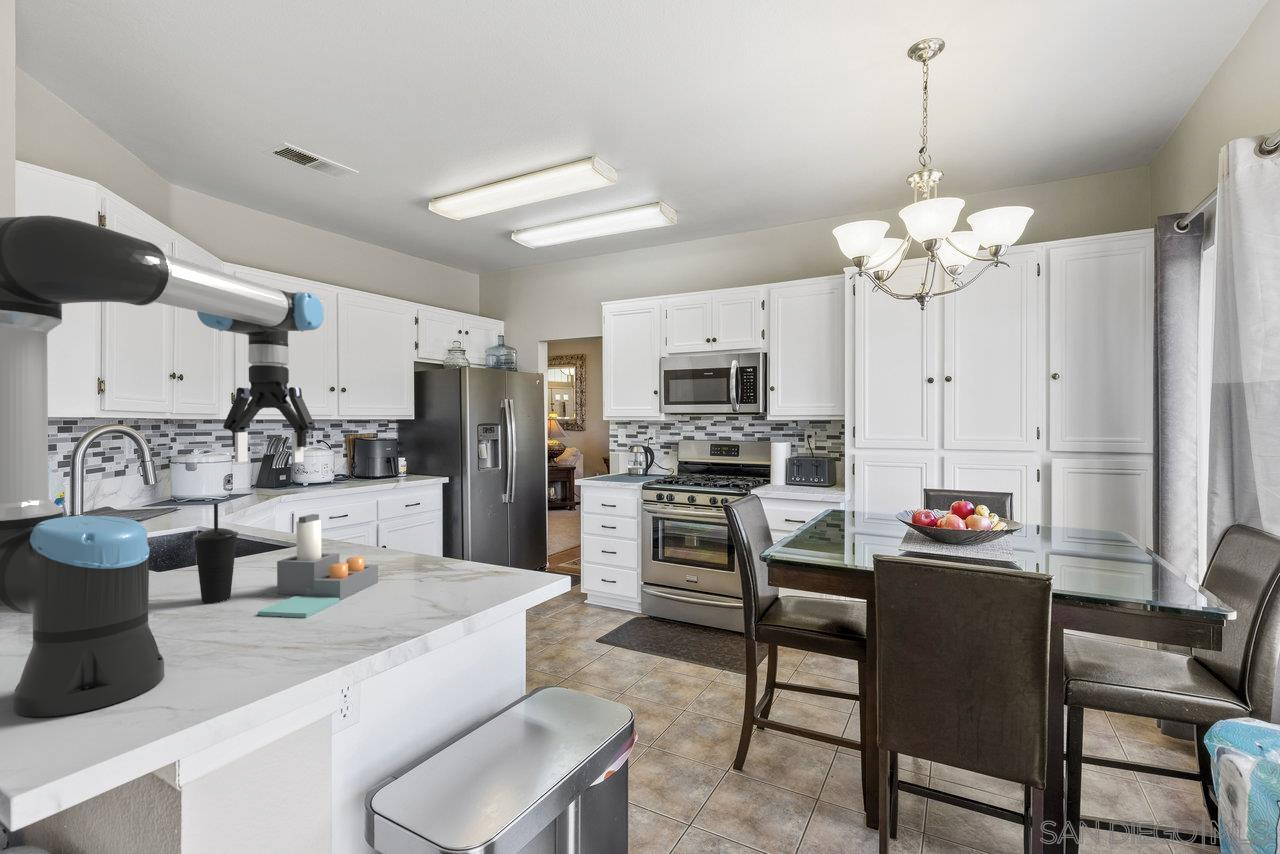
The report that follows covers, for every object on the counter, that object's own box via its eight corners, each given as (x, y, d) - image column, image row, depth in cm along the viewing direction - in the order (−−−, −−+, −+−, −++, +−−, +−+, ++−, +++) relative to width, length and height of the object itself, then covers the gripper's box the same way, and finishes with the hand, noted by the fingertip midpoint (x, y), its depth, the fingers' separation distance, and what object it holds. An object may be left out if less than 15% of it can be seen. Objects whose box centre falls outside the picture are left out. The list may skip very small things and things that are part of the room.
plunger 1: (341, 590, 126) (341, 567, 126) (325, 590, 126) (325, 566, 126) (351, 586, 129) (351, 563, 129) (336, 585, 130) (336, 562, 130)
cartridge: (312, 592, 129) (311, 517, 129) (291, 591, 130) (291, 517, 130) (326, 586, 134) (326, 514, 134) (306, 585, 134) (306, 513, 134)
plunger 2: (358, 583, 132) (358, 560, 132) (343, 582, 132) (342, 560, 132) (367, 579, 135) (367, 557, 135) (352, 578, 136) (352, 556, 136)
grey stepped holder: (340, 600, 123) (340, 566, 123) (267, 597, 125) (267, 564, 125) (378, 582, 137) (377, 551, 137) (312, 580, 139) (312, 550, 139)
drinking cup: (221, 606, 120) (220, 506, 119) (183, 605, 120) (183, 506, 120) (247, 594, 127) (246, 501, 127) (211, 594, 127) (211, 501, 127)
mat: (306, 617, 112) (306, 613, 112) (257, 615, 114) (257, 611, 114) (339, 601, 122) (339, 597, 122) (294, 600, 124) (294, 596, 124)
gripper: (332, 366, 134) (332, 461, 134) (231, 368, 137) (231, 460, 137) (309, 363, 126) (310, 463, 127) (203, 364, 130) (204, 462, 130)
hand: (269, 462), depth 132 cm, fingers open, 13 cm apart
